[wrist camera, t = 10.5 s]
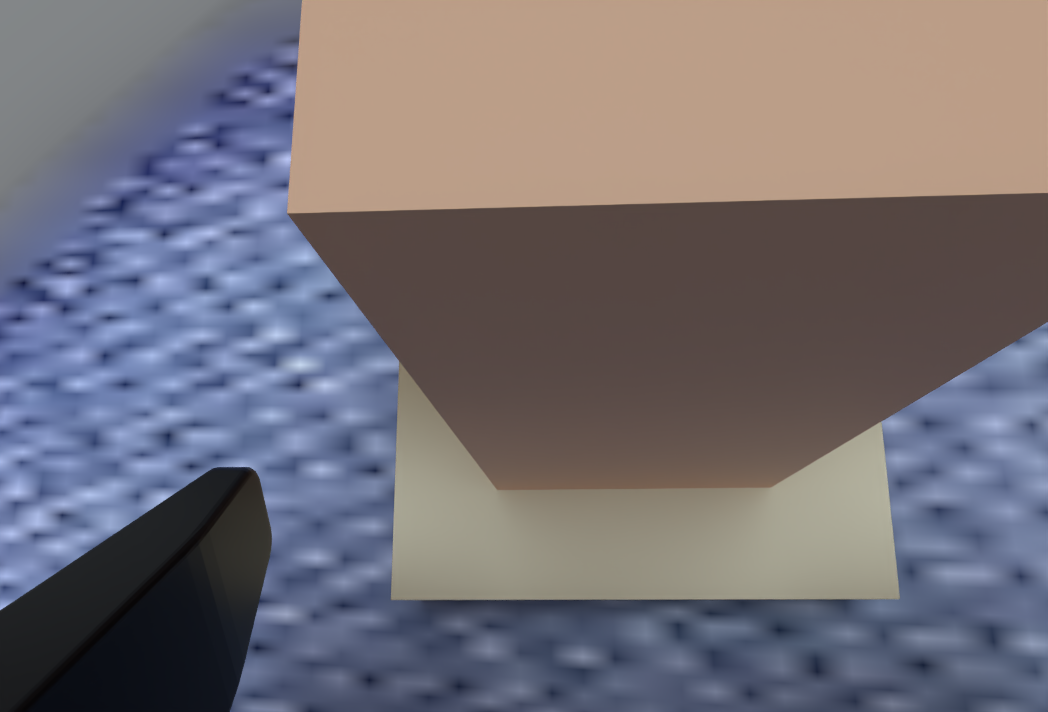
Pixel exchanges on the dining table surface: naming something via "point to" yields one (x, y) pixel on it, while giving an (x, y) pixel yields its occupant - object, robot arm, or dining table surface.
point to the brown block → (676, 217)
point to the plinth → (634, 530)
